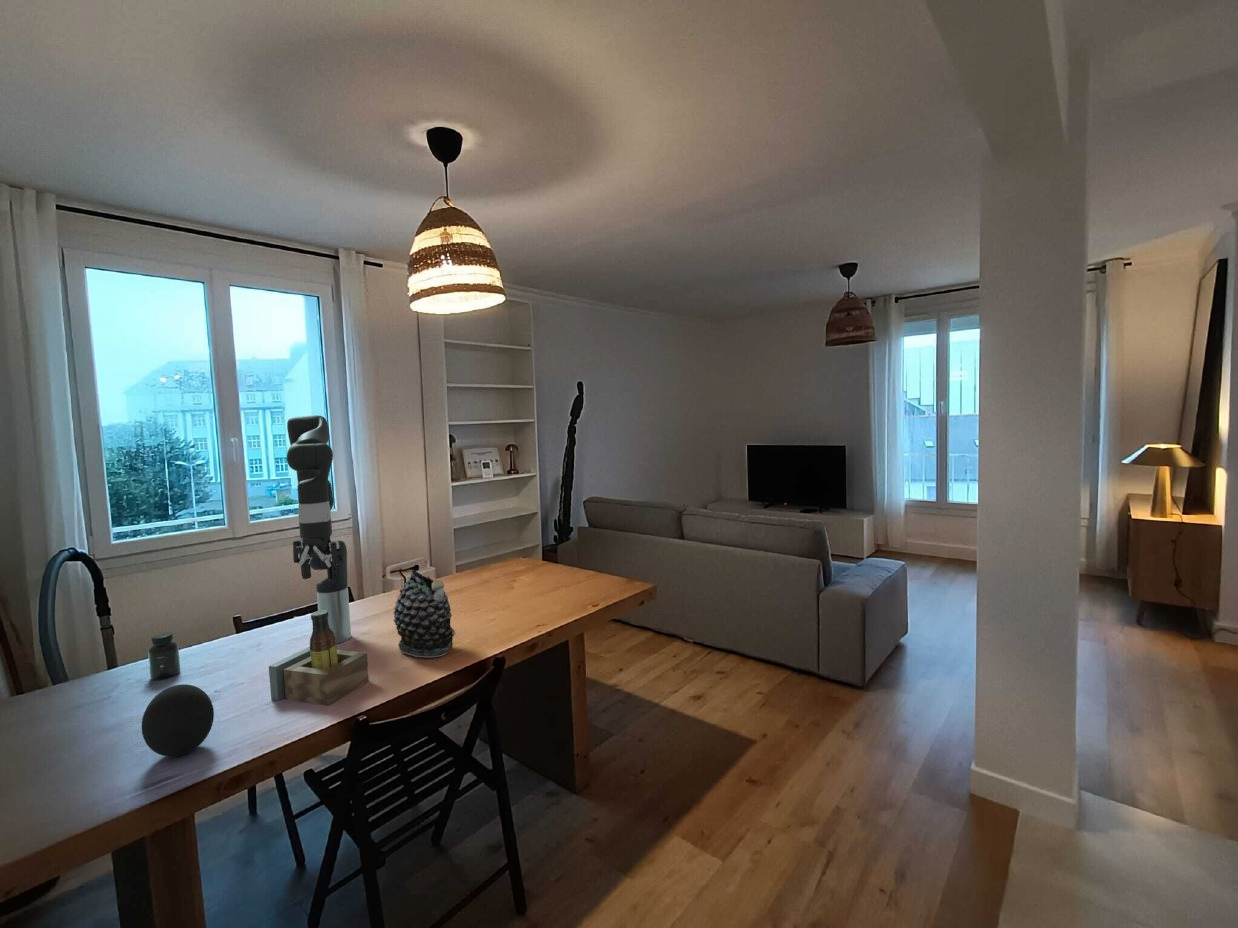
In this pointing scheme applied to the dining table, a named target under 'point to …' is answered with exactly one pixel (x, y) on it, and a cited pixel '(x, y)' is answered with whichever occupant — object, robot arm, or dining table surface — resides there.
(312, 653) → the sauce bottle
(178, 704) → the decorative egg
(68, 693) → the dining table surface
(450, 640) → the scaly dragon egg
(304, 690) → the open wooden box
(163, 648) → the supplement bottle
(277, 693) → the backstop
